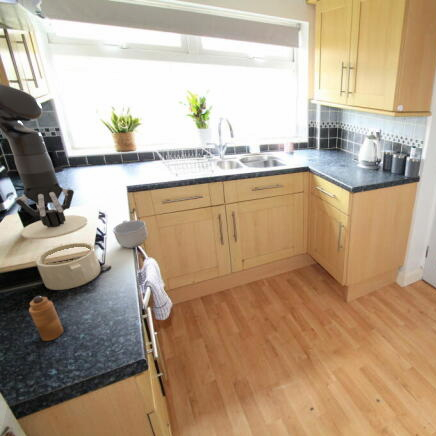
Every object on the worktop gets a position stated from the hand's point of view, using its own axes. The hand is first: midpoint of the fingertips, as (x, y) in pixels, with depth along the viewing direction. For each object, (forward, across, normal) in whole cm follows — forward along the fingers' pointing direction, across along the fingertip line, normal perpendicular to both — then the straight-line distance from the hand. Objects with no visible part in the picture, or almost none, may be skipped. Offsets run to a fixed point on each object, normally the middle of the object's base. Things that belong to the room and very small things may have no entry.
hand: (55, 224), depth 96 cm
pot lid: (+1, 0, 0) cm, 1 cm away
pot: (+19, 0, 0) cm, 19 cm away
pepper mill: (+19, -11, -26) cm, 34 cm away
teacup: (+19, +22, +10) cm, 31 cm away
